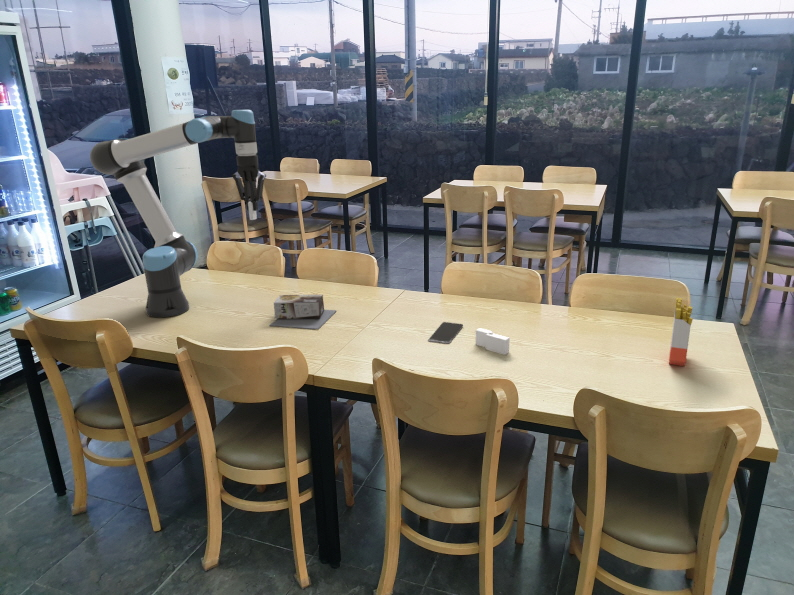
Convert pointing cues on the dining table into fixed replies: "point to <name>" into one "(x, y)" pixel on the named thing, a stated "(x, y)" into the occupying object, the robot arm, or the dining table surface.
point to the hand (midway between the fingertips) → (253, 219)
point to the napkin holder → (492, 341)
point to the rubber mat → (304, 321)
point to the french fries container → (680, 334)
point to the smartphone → (445, 332)
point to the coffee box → (299, 307)
